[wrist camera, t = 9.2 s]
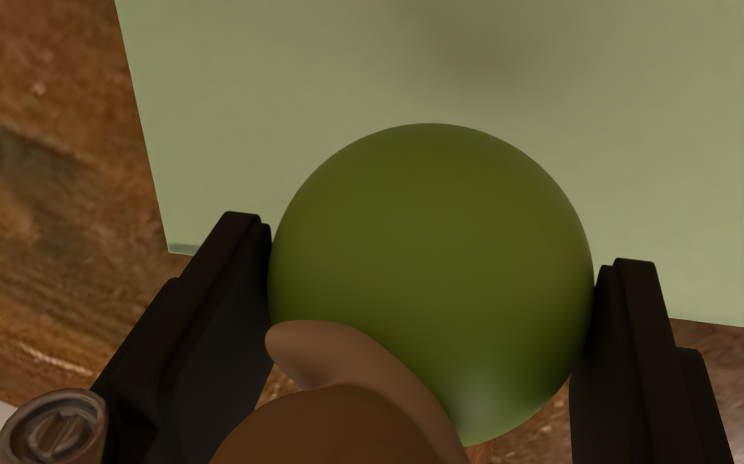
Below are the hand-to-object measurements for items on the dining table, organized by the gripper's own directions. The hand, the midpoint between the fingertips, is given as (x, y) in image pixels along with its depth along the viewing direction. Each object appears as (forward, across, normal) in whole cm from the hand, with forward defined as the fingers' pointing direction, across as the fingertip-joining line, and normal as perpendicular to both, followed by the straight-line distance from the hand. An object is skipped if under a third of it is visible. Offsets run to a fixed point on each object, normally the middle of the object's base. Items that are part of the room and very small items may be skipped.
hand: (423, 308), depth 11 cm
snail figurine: (+3, 0, 0) cm, 3 cm away
